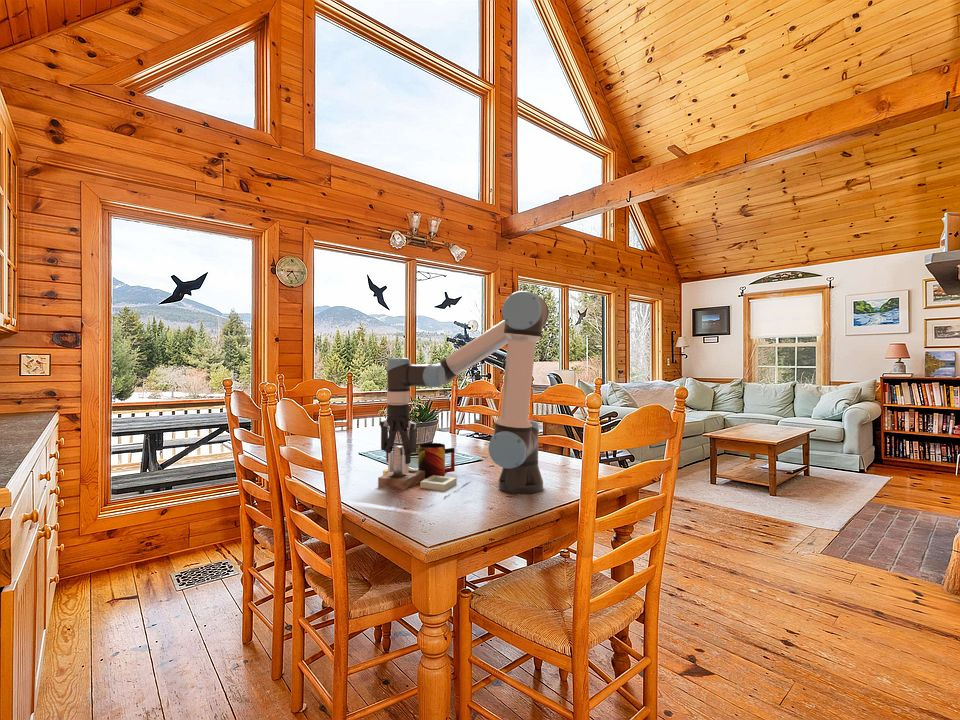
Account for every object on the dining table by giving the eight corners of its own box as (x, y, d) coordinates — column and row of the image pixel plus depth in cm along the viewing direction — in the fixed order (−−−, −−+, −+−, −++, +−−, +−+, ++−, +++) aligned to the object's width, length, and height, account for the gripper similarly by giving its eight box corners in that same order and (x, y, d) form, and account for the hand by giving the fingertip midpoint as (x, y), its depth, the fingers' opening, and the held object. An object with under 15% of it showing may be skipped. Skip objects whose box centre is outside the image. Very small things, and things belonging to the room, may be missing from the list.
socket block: (425, 482, 171) (425, 470, 171) (404, 493, 158) (404, 480, 158) (400, 479, 175) (400, 468, 175) (378, 489, 162) (378, 477, 162)
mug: (455, 474, 183) (455, 442, 182) (436, 483, 170) (436, 449, 170) (433, 471, 187) (433, 440, 187) (413, 479, 174) (413, 446, 174)
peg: (405, 483, 165) (405, 445, 165) (400, 486, 162) (400, 447, 161) (396, 482, 166) (396, 445, 166) (390, 485, 163) (390, 447, 163)
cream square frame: (456, 486, 166) (456, 477, 166) (444, 493, 157) (444, 484, 157) (433, 483, 169) (433, 475, 169) (420, 490, 161) (420, 481, 161)
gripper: (427, 403, 164) (427, 472, 164) (382, 401, 170) (382, 467, 171) (416, 406, 157) (415, 477, 157) (369, 403, 164) (369, 472, 164)
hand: (398, 472), depth 164 cm, fingers open, 5 cm apart
